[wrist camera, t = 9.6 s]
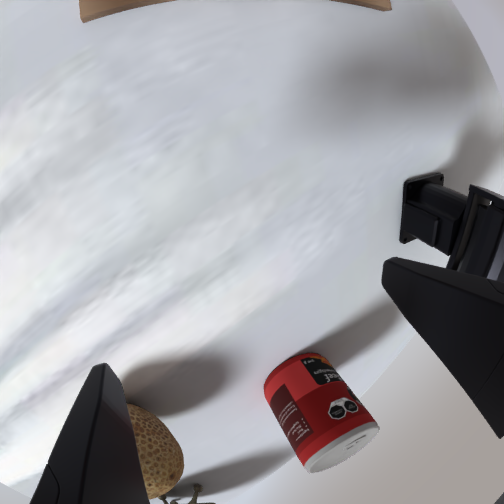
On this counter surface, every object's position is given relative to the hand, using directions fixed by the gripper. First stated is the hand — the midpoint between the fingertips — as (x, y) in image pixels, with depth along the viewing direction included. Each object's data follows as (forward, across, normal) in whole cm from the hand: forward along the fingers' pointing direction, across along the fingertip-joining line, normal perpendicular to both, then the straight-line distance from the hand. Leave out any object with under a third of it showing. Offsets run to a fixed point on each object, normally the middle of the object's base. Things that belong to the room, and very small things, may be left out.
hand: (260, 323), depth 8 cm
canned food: (+12, -6, +22) cm, 26 cm away
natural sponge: (+12, +12, +18) cm, 25 cm away
